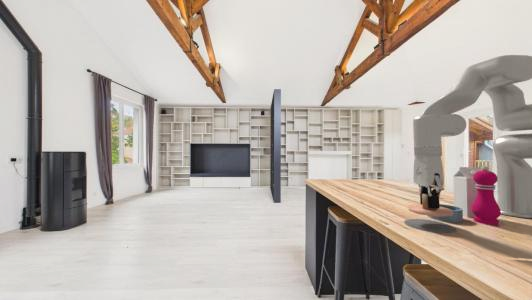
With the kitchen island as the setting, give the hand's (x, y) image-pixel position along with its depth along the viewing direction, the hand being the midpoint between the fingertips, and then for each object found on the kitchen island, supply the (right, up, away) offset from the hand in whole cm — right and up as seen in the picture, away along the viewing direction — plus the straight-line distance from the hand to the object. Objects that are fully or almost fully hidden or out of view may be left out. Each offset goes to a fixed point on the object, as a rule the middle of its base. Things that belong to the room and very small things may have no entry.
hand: (429, 205), depth 73 cm
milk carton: (+24, -7, +11) cm, 28 cm away
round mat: (0, -7, 0) cm, 7 cm away
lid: (0, -2, 0) cm, 2 cm away
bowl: (+11, -7, +8) cm, 15 cm away
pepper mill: (+22, -7, +2) cm, 23 cm away
